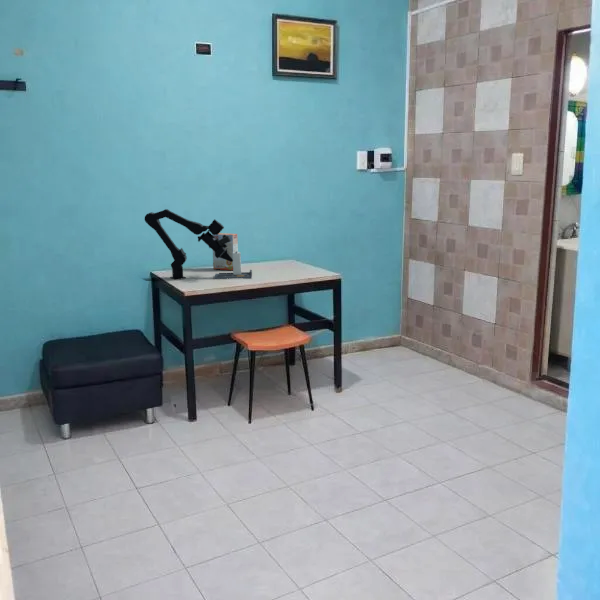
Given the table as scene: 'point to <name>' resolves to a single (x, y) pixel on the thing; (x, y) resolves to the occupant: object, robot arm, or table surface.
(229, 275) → the fader track base
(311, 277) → the table surface
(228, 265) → the cracker box
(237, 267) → the fader cap
